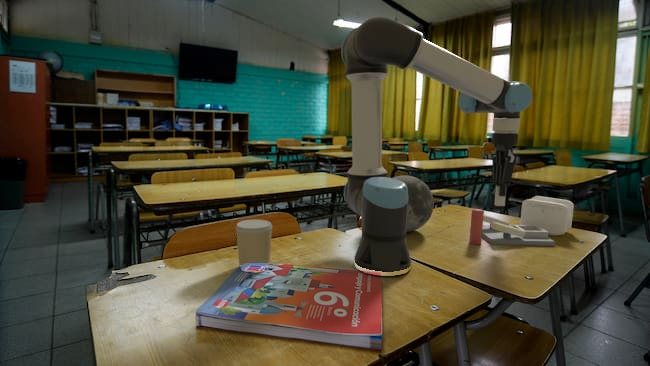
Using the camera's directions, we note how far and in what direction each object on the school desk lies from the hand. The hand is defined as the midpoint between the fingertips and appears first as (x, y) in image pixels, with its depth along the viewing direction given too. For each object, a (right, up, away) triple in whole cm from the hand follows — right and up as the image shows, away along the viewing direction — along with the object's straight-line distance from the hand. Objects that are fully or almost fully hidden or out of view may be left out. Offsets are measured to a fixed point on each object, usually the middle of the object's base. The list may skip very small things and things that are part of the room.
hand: (499, 205), depth 124 cm
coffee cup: (-75, -15, -23) cm, 80 cm away
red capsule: (-8, -12, 0) cm, 15 cm away
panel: (+7, -11, +8) cm, 16 cm away
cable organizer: (+24, -10, +16) cm, 31 cm away
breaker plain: (+3, -6, +12) cm, 14 cm away
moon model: (-29, -10, +13) cm, 33 cm away
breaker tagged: (+3, -9, +1) cm, 9 cm away
